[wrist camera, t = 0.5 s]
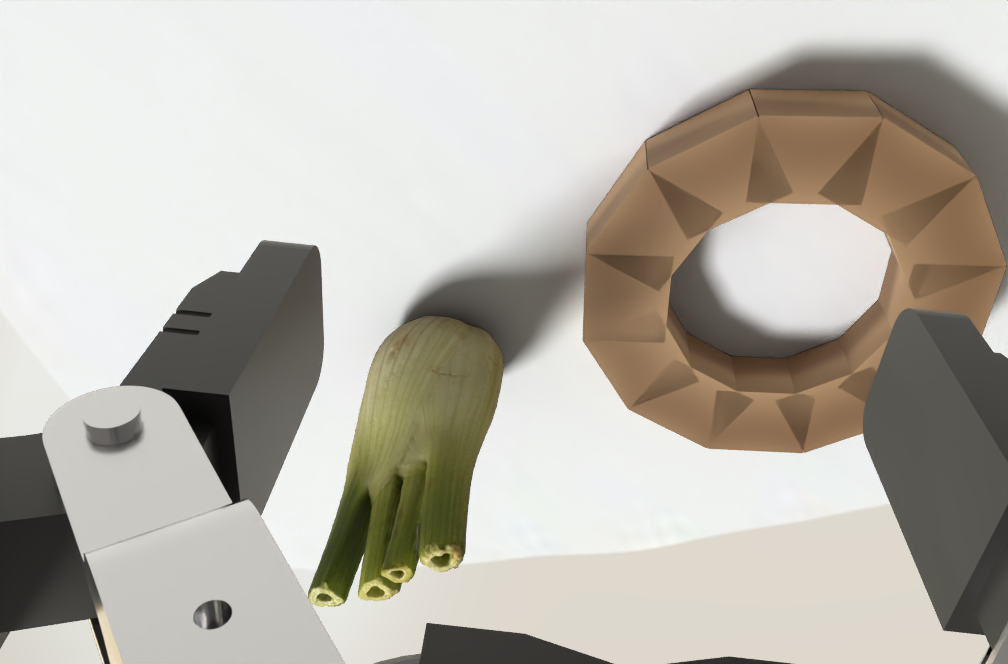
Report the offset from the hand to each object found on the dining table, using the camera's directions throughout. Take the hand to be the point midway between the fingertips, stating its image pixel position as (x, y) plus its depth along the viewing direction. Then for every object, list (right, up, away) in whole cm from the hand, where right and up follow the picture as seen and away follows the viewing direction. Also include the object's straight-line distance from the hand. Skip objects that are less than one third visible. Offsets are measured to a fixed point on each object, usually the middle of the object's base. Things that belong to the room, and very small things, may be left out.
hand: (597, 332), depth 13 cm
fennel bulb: (-4, -1, +25) cm, 25 cm away
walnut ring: (+9, +2, +21) cm, 23 cm away
